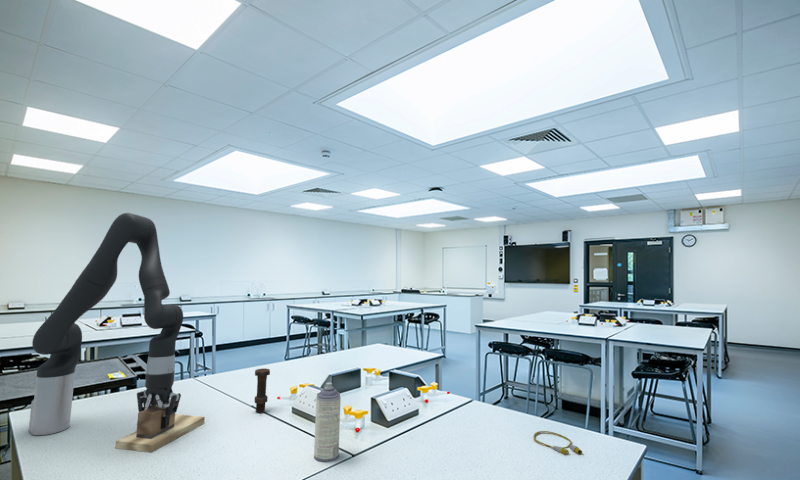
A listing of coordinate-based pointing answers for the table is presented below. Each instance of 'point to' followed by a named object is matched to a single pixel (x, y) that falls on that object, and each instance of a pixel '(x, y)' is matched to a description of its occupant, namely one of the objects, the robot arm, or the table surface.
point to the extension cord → (556, 448)
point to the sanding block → (152, 423)
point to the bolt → (261, 389)
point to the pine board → (161, 435)
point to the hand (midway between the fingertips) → (156, 427)
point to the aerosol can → (327, 424)
